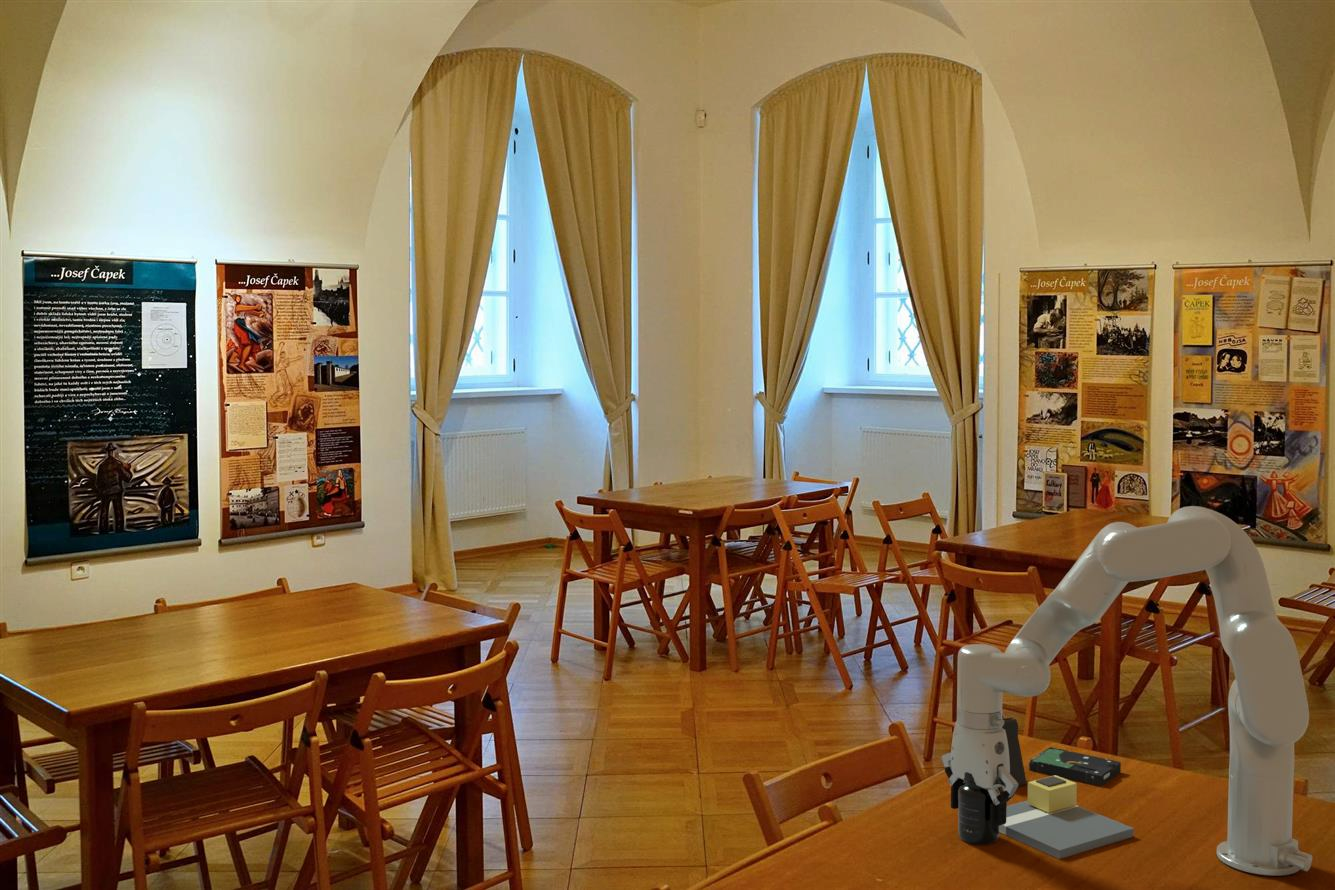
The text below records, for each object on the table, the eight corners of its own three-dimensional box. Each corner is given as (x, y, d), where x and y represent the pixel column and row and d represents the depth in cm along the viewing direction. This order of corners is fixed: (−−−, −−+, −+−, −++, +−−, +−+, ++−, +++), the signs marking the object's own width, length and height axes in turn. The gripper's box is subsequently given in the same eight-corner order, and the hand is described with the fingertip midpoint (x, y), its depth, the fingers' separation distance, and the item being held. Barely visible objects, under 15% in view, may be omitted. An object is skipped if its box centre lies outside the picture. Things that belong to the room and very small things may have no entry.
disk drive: (1121, 775, 250) (1049, 758, 260) (1121, 761, 250) (1049, 745, 259) (1101, 789, 242) (1027, 772, 252) (1101, 775, 242) (1028, 758, 252)
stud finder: (1076, 804, 228) (1076, 781, 228) (1048, 812, 224) (1048, 788, 224) (1055, 796, 232) (1055, 773, 232) (1027, 803, 229) (1027, 780, 228)
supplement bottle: (971, 827, 223) (972, 760, 222) (1006, 837, 218) (1007, 769, 217) (950, 838, 218) (950, 770, 217) (985, 849, 213) (985, 780, 212)
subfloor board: (1133, 836, 218) (1133, 828, 218) (1059, 859, 209) (1059, 850, 209) (1049, 802, 234) (1049, 794, 234) (977, 821, 225) (977, 813, 225)
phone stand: (1026, 786, 243) (1027, 724, 242) (999, 789, 241) (1000, 728, 240) (1000, 770, 252) (1001, 711, 251) (973, 774, 250) (974, 714, 249)
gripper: (1033, 727, 211) (1031, 828, 212) (960, 702, 226) (959, 796, 227) (1000, 735, 207) (998, 837, 208) (928, 708, 222) (927, 804, 223)
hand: (978, 815), depth 218 cm, fingers open, 9 cm apart
